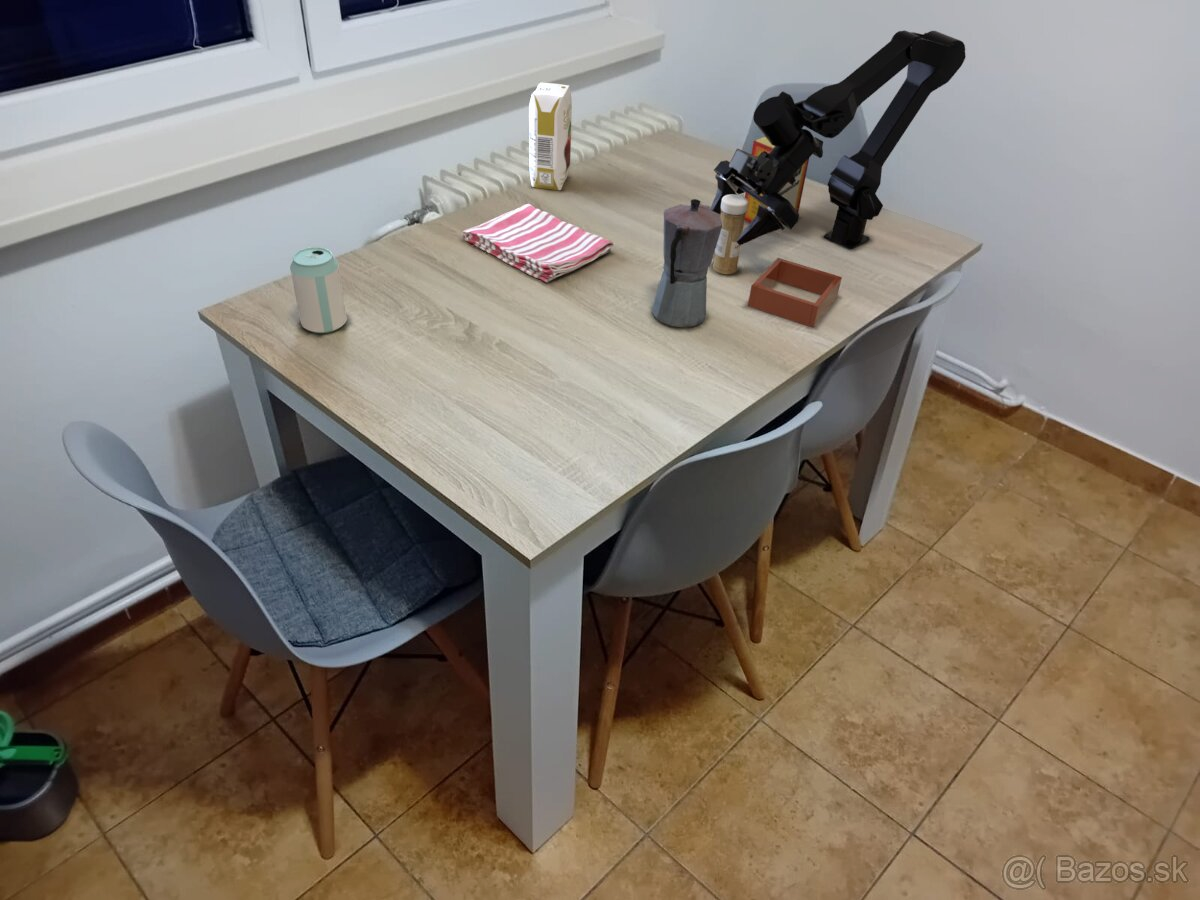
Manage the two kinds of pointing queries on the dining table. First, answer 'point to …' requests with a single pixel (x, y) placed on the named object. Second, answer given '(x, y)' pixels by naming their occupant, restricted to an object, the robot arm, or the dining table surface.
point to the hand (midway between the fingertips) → (722, 232)
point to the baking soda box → (788, 191)
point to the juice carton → (550, 135)
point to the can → (318, 290)
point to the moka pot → (686, 263)
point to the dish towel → (537, 242)
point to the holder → (793, 305)
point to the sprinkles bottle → (730, 233)
